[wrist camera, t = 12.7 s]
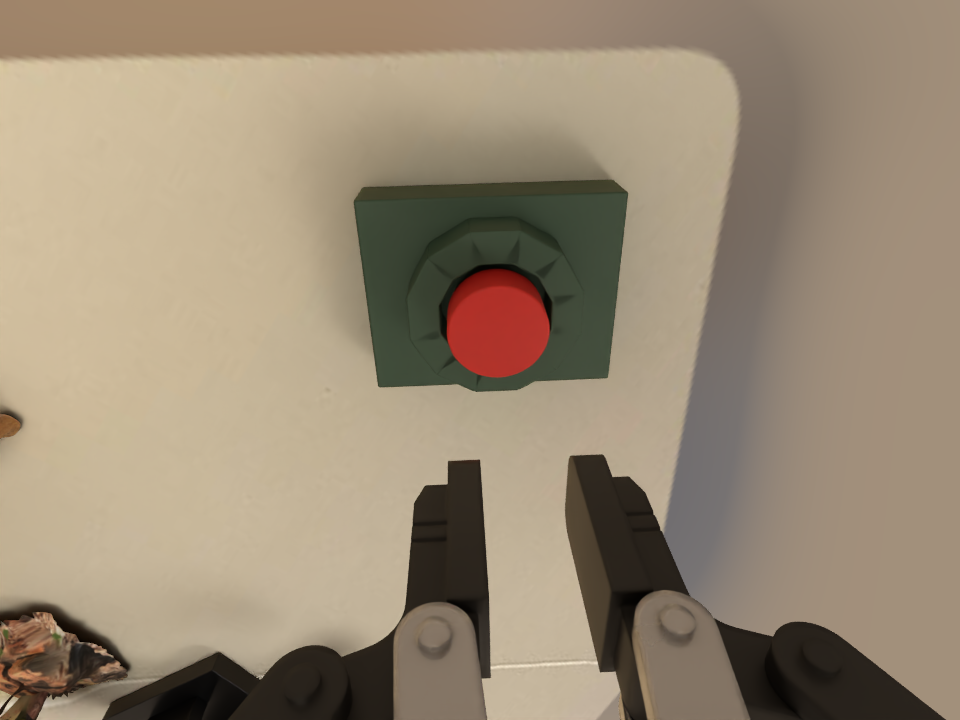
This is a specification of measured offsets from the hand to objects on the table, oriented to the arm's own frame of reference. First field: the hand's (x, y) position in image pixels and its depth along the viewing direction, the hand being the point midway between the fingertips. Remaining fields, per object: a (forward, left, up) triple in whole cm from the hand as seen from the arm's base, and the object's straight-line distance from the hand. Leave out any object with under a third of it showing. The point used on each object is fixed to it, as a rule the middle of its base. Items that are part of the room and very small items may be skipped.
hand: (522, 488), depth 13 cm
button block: (0, 0, -13) cm, 13 cm away
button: (0, 0, -9) cm, 9 cm away
